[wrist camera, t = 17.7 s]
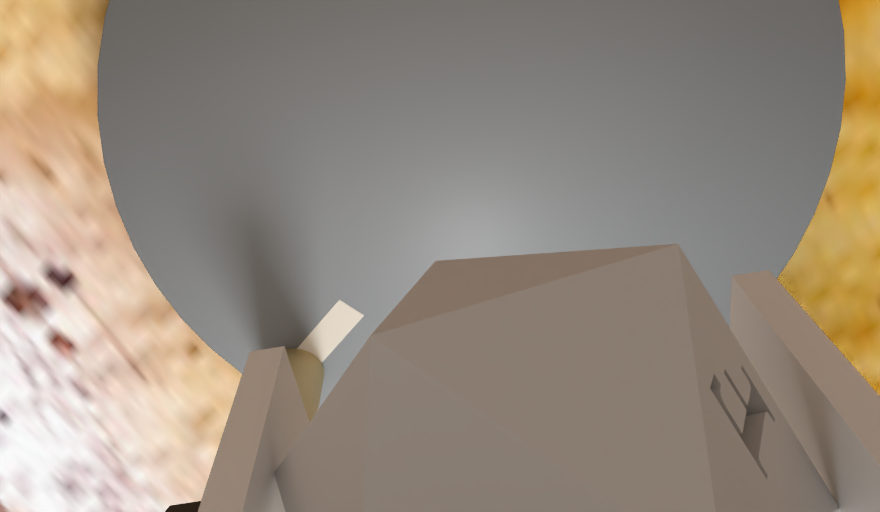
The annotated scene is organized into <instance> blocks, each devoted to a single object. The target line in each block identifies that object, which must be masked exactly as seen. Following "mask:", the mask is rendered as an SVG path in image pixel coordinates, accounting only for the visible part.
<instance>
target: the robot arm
mask: <svg viewBox="0 0 880 512" xmlns="http://www.w3.org/2000/svg"><path fill="white" fill-rule="evenodd" d="M730 329H731V331H732V332H733V334H734V336H735V337H736V339H737V340H738V342H739V344H740V345H741V347H742V349H743V350H744V352H745V354H746V355H747V357H748V358H749V360H750V362H751V363H752V365H753V367H754V368H755V370H756V371H757V373H758V375H759V376H760V378H761V380H762V381H763V383H764V385H765V386H766V388H767V389H768V391H769V393H770V394H771V396H772V398H773V399H774V401H775V402H776V404H777V406H778V407H779V409H780V411H781V412H782V414H783V415H784V417H785V419H786V420H787V422H788V424H789V425H790V427H791V429H792V430H793V432H794V433H795V435H796V437H797V438H798V440H799V442H800V443H801V445H802V446H803V448H804V450H805V451H806V453H807V455H808V456H809V458H810V460H811V461H812V463H813V464H814V466H815V468H816V469H817V471H818V473H819V474H820V476H821V477H822V479H823V481H824V482H825V484H826V486H827V487H828V489H829V490H830V492H831V494H832V495H833V497H834V499H835V500H836V502H837V504H838V506H839V511H838V512H880V396H879V395H878V394H877V393H876V391H875V390H874V389H873V388H872V387H871V386H870V385H869V383H868V382H867V381H866V380H865V379H864V378H863V377H862V376H861V374H860V373H859V372H858V371H857V370H856V369H855V368H854V366H853V365H852V364H851V363H850V362H849V361H848V360H847V358H846V357H845V356H844V355H843V354H842V353H841V352H840V351H839V349H838V348H837V347H836V346H835V345H834V344H833V343H832V341H831V340H830V339H829V338H828V337H827V336H826V335H825V333H824V332H823V331H822V330H821V329H820V328H819V327H818V326H817V324H816V323H815V322H814V321H813V320H812V319H811V318H810V316H809V315H808V314H807V313H806V312H805V311H804V310H803V309H802V307H801V306H800V305H799V304H798V303H797V302H796V301H795V299H794V298H793V297H792V296H791V295H790V294H789V293H788V291H787V290H786V289H785V288H784V287H783V286H782V285H781V284H780V282H779V281H778V280H777V279H776V278H775V277H774V276H773V274H772V273H771V272H770V271H769V270H766V271H759V272H753V273H746V274H740V275H734V276H732V280H731V306H730ZM308 424H309V419H308V416H307V413H306V410H305V407H304V404H303V401H302V398H301V395H300V392H299V389H298V386H297V383H296V380H295V377H294V374H293V371H292V367H291V364H290V361H289V358H288V355H287V352H286V349H285V346H282V347H276V348H269V349H263V350H257V351H250V352H249V355H248V358H247V362H246V365H245V368H244V371H243V374H242V377H241V380H240V383H239V386H238V389H237V392H236V395H235V398H234V402H233V405H232V408H231V411H230V414H229V417H228V420H227V423H226V426H225V429H224V432H223V435H222V439H221V442H220V445H219V448H218V451H217V454H216V457H215V460H214V463H213V466H212V469H211V472H210V475H209V479H208V482H207V485H206V488H205V491H204V494H203V497H202V500H201V501H199V502H192V503H185V504H178V505H172V506H169V508H168V509H167V510H166V511H165V512H286V511H285V508H284V505H283V501H282V498H281V495H280V491H279V488H278V485H277V481H276V478H275V471H276V469H277V468H278V466H279V465H280V464H281V462H282V461H283V459H284V458H285V456H286V455H287V454H288V452H289V451H290V449H291V448H292V446H293V445H294V444H295V442H296V441H297V439H298V438H299V436H300V435H301V434H302V432H303V431H304V429H305V428H306V427H307V425H308Z"/></svg>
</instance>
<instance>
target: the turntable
mask: <svg viewBox="0 0 880 512" xmlns="http://www.w3.org/2000/svg"><path fill="white" fill-rule="evenodd" d="M845 81H846V78H845V49H844V29H843V24H842V18H841V12H840V7H839V1H838V0H110V1H109V5H108V8H107V11H106V15H105V20H104V27H103V34H102V41H101V48H100V55H99V61H98V122H99V129H100V136H101V144H102V151H103V158H104V164H105V168H106V171H107V175H108V178H109V182H110V186H111V189H112V193H113V196H114V200H115V203H116V207H117V209H118V212H119V214H120V216H121V219H122V221H123V223H124V226H125V228H126V230H127V233H128V235H129V237H130V240H131V242H132V244H133V247H134V249H135V251H136V252H137V254H138V256H139V257H140V259H141V261H142V262H143V264H144V266H145V267H146V269H147V271H148V273H149V274H150V276H151V278H152V279H153V281H154V283H155V284H156V286H157V287H158V289H159V290H160V291H161V292H162V294H163V295H164V296H165V298H166V299H167V300H168V302H169V303H170V304H171V305H172V307H173V308H174V309H175V311H176V312H177V313H178V315H179V316H180V317H181V318H182V319H183V321H184V322H185V323H186V324H187V325H188V326H189V327H190V328H191V329H192V330H193V331H194V332H195V333H196V334H197V335H198V336H199V337H200V338H201V339H202V340H203V341H204V342H205V343H206V344H207V345H208V346H209V347H210V348H211V349H212V350H214V351H215V352H216V353H217V354H218V355H220V356H221V357H222V358H223V359H225V360H226V361H227V362H228V363H230V364H231V365H232V366H233V367H235V368H236V369H237V370H238V371H240V372H241V373H242V374H243V371H244V368H245V365H246V362H247V358H248V355H249V352H250V351H257V350H263V349H269V348H276V347H282V346H285V349H286V352H287V355H288V358H289V361H290V364H291V367H292V371H293V374H294V377H295V380H296V383H297V386H298V389H299V392H300V395H301V398H302V401H303V404H304V407H305V410H306V413H307V416H308V419H309V422H310V421H311V419H312V418H313V417H314V415H315V414H316V412H317V411H318V409H319V408H320V407H321V405H322V404H323V402H324V401H325V399H326V398H327V397H328V395H329V394H330V392H331V391H332V389H333V388H334V387H335V385H336V384H337V382H338V381H339V379H340V378H341V377H342V375H343V374H344V372H345V371H346V369H347V368H348V367H349V365H350V364H351V362H352V361H353V360H354V358H355V357H356V355H357V354H358V352H359V351H360V350H361V348H362V347H363V345H364V344H365V342H366V341H367V340H368V338H369V337H370V335H371V334H372V333H373V332H374V331H375V330H376V329H377V327H378V326H379V325H380V324H381V323H382V322H383V320H384V319H385V318H386V317H387V316H388V315H389V314H390V312H391V311H392V310H393V309H394V308H395V307H396V306H397V304H398V303H399V302H400V301H401V300H402V299H403V298H404V296H405V295H406V294H407V293H408V292H409V291H410V290H411V288H412V287H413V286H414V285H415V284H416V283H417V282H418V280H419V279H420V278H421V277H422V276H423V275H424V274H425V272H426V271H427V270H428V269H429V268H430V267H431V266H432V264H433V263H434V262H435V261H441V260H455V259H469V258H483V257H497V256H512V255H526V254H540V253H554V252H568V251H583V250H597V249H611V248H625V247H639V246H654V245H668V244H679V246H680V248H681V249H682V251H683V252H684V254H685V256H686V257H687V259H688V261H689V262H690V264H691V265H692V267H693V269H694V270H695V272H696V274H697V275H698V277H699V279H700V280H701V282H702V283H703V285H704V287H705V288H706V290H707V292H708V293H709V295H710V296H711V298H712V300H713V301H714V303H715V305H716V306H717V308H718V310H719V311H720V313H721V314H722V316H723V318H724V319H725V321H726V323H727V324H728V326H729V327H730V306H731V280H732V276H734V275H740V274H746V273H753V272H759V271H766V270H769V271H770V272H771V273H772V274H773V276H774V277H775V278H776V279H777V277H778V276H779V275H780V273H781V272H782V270H783V269H784V267H785V266H786V264H787V263H788V261H789V260H790V258H791V257H792V255H793V254H794V252H795V250H796V248H797V246H798V244H799V243H800V241H801V239H802V237H803V235H804V233H805V231H806V229H807V227H808V225H809V223H810V221H811V219H812V218H813V216H814V214H815V211H816V208H817V206H818V203H819V200H820V198H821V195H822V192H823V190H824V187H825V184H826V182H827V179H828V176H829V174H830V170H831V166H832V162H833V158H834V153H835V149H836V145H837V141H838V137H839V132H840V128H841V120H842V110H843V100H844V90H845Z"/></svg>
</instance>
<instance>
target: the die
mask: <svg viewBox="0 0 880 512" xmlns="http://www.w3.org/2000/svg"><path fill="white" fill-rule="evenodd" d="M275 478H276V481H277V485H278V488H279V491H280V495H281V498H282V501H283V505H284V508H285V511H286V512H838V511H839V506H838V504H837V502H836V500H835V499H834V497H833V495H832V494H831V492H830V490H829V489H828V487H827V486H826V484H825V482H824V481H823V479H822V477H821V476H820V474H819V473H818V471H817V469H816V468H815V466H814V464H813V463H812V461H811V460H810V458H809V456H808V455H807V453H806V451H805V450H804V448H803V446H802V445H801V443H800V442H799V440H798V438H797V437H796V435H795V433H794V432H793V430H792V429H791V427H790V425H789V424H788V422H787V420H786V419H785V417H784V415H783V414H782V412H781V411H780V409H779V407H778V406H777V404H776V402H775V401H774V399H773V398H772V396H771V394H770V393H769V391H768V389H767V388H766V386H765V385H764V383H763V381H762V380H761V378H760V376H759V375H758V373H757V371H756V370H755V368H754V367H753V365H752V363H751V362H750V360H749V358H748V357H747V355H746V354H745V352H744V350H743V349H742V347H741V345H740V344H739V342H738V340H737V339H736V337H735V336H734V334H733V332H732V331H731V329H730V327H729V326H728V324H727V323H726V321H725V319H724V318H723V316H722V314H721V313H720V311H719V310H718V308H717V306H716V305H715V303H714V301H713V300H712V298H711V296H710V295H709V293H708V292H707V290H706V288H705V287H704V285H703V283H702V282H701V280H700V279H699V277H698V275H697V274H696V272H695V270H694V269H693V267H692V265H691V264H690V262H689V261H688V259H687V257H686V256H685V254H684V252H683V251H682V249H681V248H680V246H679V244H668V245H654V246H639V247H625V248H611V249H597V250H583V251H568V252H554V253H540V254H526V255H512V256H497V257H483V258H469V259H455V260H441V261H435V262H434V263H433V264H432V266H431V267H430V268H429V269H428V270H427V271H426V272H425V274H424V275H423V276H422V277H421V278H420V279H419V280H418V282H417V283H416V284H415V285H414V286H413V287H412V288H411V290H410V291H409V292H408V293H407V294H406V295H405V296H404V298H403V299H402V300H401V301H400V302H399V303H398V304H397V306H396V307H395V308H394V309H393V310H392V311H391V312H390V314H389V315H388V316H387V317H386V318H385V319H384V320H383V322H382V323H381V324H380V325H379V326H378V327H377V329H376V330H375V331H374V332H373V333H372V334H371V335H370V337H369V338H368V340H367V341H366V342H365V344H364V345H363V347H362V348H361V350H360V351H359V352H358V354H357V355H356V357H355V358H354V360H353V361H352V362H351V364H350V365H349V367H348V368H347V369H346V371H345V372H344V374H343V375H342V377H341V378H340V379H339V381H338V382H337V384H336V385H335V387H334V388H333V389H332V391H331V392H330V394H329V395H328V397H327V398H326V399H325V401H324V402H323V404H322V405H321V407H320V408H319V409H318V411H317V412H316V414H315V415H314V417H313V418H312V419H311V421H310V422H309V424H308V425H307V427H306V428H305V429H304V431H303V432H302V434H301V435H300V436H299V438H298V439H297V441H296V442H295V444H294V445H293V446H292V448H291V449H290V451H289V452H288V454H287V455H286V456H285V458H284V459H283V461H282V462H281V464H280V465H279V466H278V468H277V469H276V471H275Z"/></svg>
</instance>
